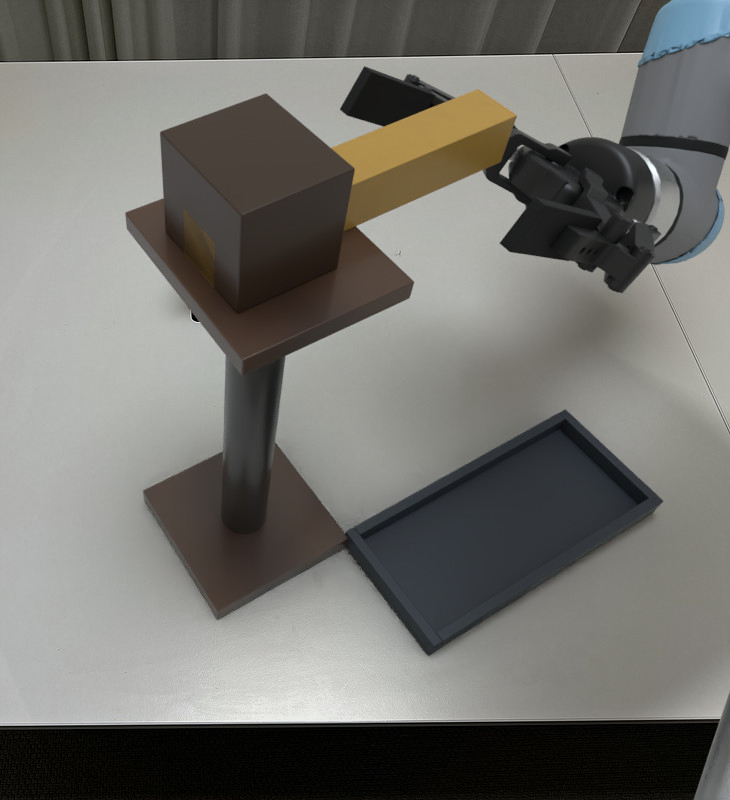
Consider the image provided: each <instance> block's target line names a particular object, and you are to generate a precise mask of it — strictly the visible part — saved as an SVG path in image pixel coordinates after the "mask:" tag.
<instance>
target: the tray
mask: <svg viewBox="0 0 730 800" xmlns="http://www.w3.org/2000/svg"><path fill="white" fill-rule="evenodd" d="M663 503H664V500H663V499H662V498H661V497H660V496H659V495H658V494H657V493H656V492H655V491H653V489H652V488H650V487H649V486H648V485H647V484H646V483H645V482H644V481H643V480H642V479H641V478H639V476H638V475H637V474H636V473H634V472H633V470H631V468H629V467H628V466H627V465H626V464H625V463H624V462H623V461H622V460H621V459H619V458H618V457H617V455H616V454H614V453H613V452H612V450H610V449H609V448H608V447H606V445H604V443H602V442H601V441H600V440H599V439H598V438H597V437H596V436H595V435H594V434H593V433H592V432H591V431H589V430H588V428H586V426H584V425H583V424H582V423H581V422H580V421H579V420H578V419H577V418H576V417H575V416H573V415H572V414H571V413H570V412H569V411H568V410H567V409H563V410H561V411H560V412H558V413H555V414H554V415H552V416H550V417H549V418H546V419H545V420H543V421H542V422H539V423H537V424H536V425H534V426H532V427H530V428H529V429H527V430H525V431H523V432H522V433H520V434H518V435H516V436H514V437H513V438H511V439H509V440H507V441H506V442H503V443H502V444H500V445H499V446H496V447H495V448H493V449H491V450H489V451H488V452H485V453H484V454H482V455H480V456H478V457H476V458H474V459H473V460H471V461H470V462H468V463H466V464H464V465H463V466H461V467H459V468H457V469H455V470H453V471H451V472H450V473H448V474H446V475H444V476H442V477H440V478H439V479H437V480H436V481H435V480H434V481H433V482H431V483H430V484H428V485H426V486H425V487H423V488H421V489H419V490H417V491H416V492H414V493H412V494H410V495H408V496H407V497H404V498H403V499H401V500H399V501H398V502H396V503H394V504H392V505H390V506H389V507H387V508H385V509H384V510H382V511H379V512H377V513H376V514H374V515H372V516H371V517H369V518H367V519H365V520H364V521H362V522H360V523H358V524H356V525H355V526H353V527H351V528H349V529H348V530H346V531H345V532H344V533H345V535H346V536H347V537H348V542H347V545H346V548H345V549H346V550H347V551H348V552H349V554H350V555H351V556H352V557H353V559H354V560H355V561H356V563H357V564H358V565H359V567H360V568H361V570H362V571H363V572H364V573H365V575H366V576H367V577H368V579H369V580H370V581H371V583H372V584H373V585H374V586H375V588H376V589H377V590H378V592H379V593H380V595H381V596H382V597H383V598H384V600H385V602H386V603H387V604H388V605H389V606H390V608H391V609H392V610H393V612H394V613H395V614H396V616H397V617H398V619H399V620H400V621H401V622H402V624H403V625H404V626H405V628H406V629H407V630H408V632H409V633H410V634H411V636H412V637H413V638H414V639H415V641H416V642H417V644H419V646H420V648H421V649H422V650H423V651H424V653H425V654H426V655H427V656H428V657H429V656H431V655H432V654H434V653H435V652H437V651H439V650H441V649H442V648H443V647H445V646H447V645H448V644H450V643H451V642H453V641H454V640H456V639H458V638H459V637H461V636H463V635H464V634H465V633H467V632H469V631H470V630H472V629H473V628H475V627H476V626H479V624H481V623H483V622H484V621H486V620H488V619H489V618H490V617H492V616H494V615H495V614H497V613H498V612H500V611H502V610H503V609H505V608H506V607H508V606H510V605H511V604H512V603H514V602H516V601H517V600H519V599H520V598H522V597H523V596H525V595H527V594H528V593H530V592H531V591H533V590H534V589H536V588H538V587H539V586H540V585H542V584H544V583H546V582H547V581H549V580H550V579H552V578H553V577H555V576H556V575H558V574H559V573H561V572H563V571H564V570H566V569H568V568H569V567H571V566H572V565H574V564H575V563H577V562H578V561H581V560H582V559H583V558H584V557H586V556H588V555H589V554H591V553H592V552H594V551H596V550H597V549H599V548H600V547H602V546H604V545H605V544H606V543H608V542H610V541H611V540H613V539H614V538H616V537H618V536H619V535H621V534H623V533H624V532H625V531H627V530H628V529H630V528H631V527H633V526H635V525H636V524H637V523H639V522H641V521H643V520H644V519H646V518H647V517H649V516H651V515H652V514H653V513H654V512H655V511H656V510H657V509H658V508H659V507H660V506H661V504H663Z"/></svg>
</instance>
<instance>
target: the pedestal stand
mask: <svg viewBox="0 0 730 800" xmlns="http://www.w3.org/2000/svg"><path fill="white" fill-rule="evenodd" d="M124 215H125V216H124V217H125V225H126V230H127V232H128V233H129V234H130V235H131V237H132V238H133V239H134V241H135V242H136V243H137V245H139V247H140V248H141V249H142V251H143V252H144V253H145V255H146V256H147V257H148V258H149V259H150V261H151V262H152V263H153V264H154V266H155V267H156V268H157V270H158V271H159V272H160V273H161V275H162V276H163V277H164V278H165V280H166V281H167V282H168V284H169V285H170V286H171V288H172V289H173V290H174V291H175V292H176V294H177V295H178V296H179V298H180V299H181V300H182V302H183V303H184V304H185V305H186V306H187V308H188V309H189V310H190V312H191V313H192V314H193V315H194V317H195V318H196V319H197V321H198V322H199V323H200V324H201V326H202V327H203V328H204V329H205V331H206V332H207V334H208V335H209V336H210V337H211V338H212V340H213V341H214V342H215V344H216V345H217V346H218V347H219V348H220V350H221V351H222V353H223V354H224V355H225V364H224V365H225V366H224V368H225V369H224V403H223V408H224V409H223V433H222V434H223V436H222V451H220V452H218V453H216V454H214V455H213V456H210V457H208V458H206V459H204V460H201V461H200V462H198V463H196V464H194V465H192V466H190V467H188V468H186V469H184V470H182V471H179V472H178V473H176V474H174V475H172V476H170V477H167V478H165V479H163V480H162V481H160V482H157V483H155V484H153V485H151V486H149V487H147V488H145V489H143V490H142V494H143V500H144V502H145V504H146V505H147V507H148V508H149V511H150V512H151V514H152V516H153V518H155V520H156V521H157V524H158V525H159V527H160V529H161V530H162V532H163V533H164V535H165V537H166V538H167V540H168V542H169V543H170V545H171V547H172V548H173V549H174V552H175V553H176V555H177V556H178V558H179V560H180V561H181V563H182V564H183V566H184V568H185V569H186V571H187V573H188V574H189V576H190V578H191V579H192V581H193V582H194V584H195V586H196V588H197V589H198V590H199V592H200V594H201V596H202V597H203V599H204V600H205V602H206V604H207V605H208V607H209V608H210V610H211V612H212V613H213V615H214V617H215V618H216V620H220V619H222V618H224V617H225V616H227V615H229V614H230V613H232V612H234V611H236V610H237V609H239V608H241V607H243V606H244V605H247V604H248V603H251V602H252V601H254V600H255V599H257V598H259V597H261V596H263V595H264V594H266V593H269V591H271V590H274V589H275V588H277V587H278V586H280V585H282V584H284V583H286V582H287V581H289V580H291V579H292V578H294V577H296V576H298V575H300V574H302V573H303V572H305V571H307V570H308V569H310V568H312V567H314V566H316V565H317V564H319V563H321V562H322V561H324V560H327V559H328V558H330V557H331V556H333V555H335V554H337V553H339V552H340V551H343V550H344V549H347V548H346V545H347V542H348V537H347V536H346V535H345V533H346V532H345V531H344V530H343V528H342V527H341V526H340V524H339V523H338V522H337V521H336V519H335V518H334V517H333V515H332V514H331V513H330V512H329V510H328V509H327V508H326V506H325V505H324V503H322V501H321V499H320V498H319V497H318V496H317V494H316V493H315V492H314V491H313V489H312V488H311V487H310V486H309V484H308V482H306V480H305V479H304V478H303V476H302V475H301V474H300V472H299V471H298V470H297V469H296V467H295V466H294V465H293V463H292V462H291V461H290V459H289V458H288V457H287V456H286V454H285V453H284V452H283V451H282V449H281V447H279V445H278V443H277V442H276V439H277V431H278V421H279V414H280V406H281V405H280V404H281V399H282V398H281V397H282V391H283V390H282V389H283V383H284V382H283V381H284V373H285V365H286V356H289V355H291V354H293V353H295V352H297V351H299V350H302V349H304V348H306V347H308V346H311V345H313V344H314V343H317V342H320V341H321V340H323V339H325V338H327V337H329V336H332V335H334V334H336V333H338V332H340V331H342V330H345V329H347V328H349V327H351V326H353V325H355V324H357V323H360V322H362V321H364V320H366V319H368V318H371V317H373V316H375V315H376V314H379V313H381V312H383V311H385V310H387V309H390V308H392V307H394V306H397V305H398V304H401V303H402V302H405V301H407V300H409V299H410V298H411V295H412V291H413V289H414V285H415V281H414V279H412V278H411V276H409V275H408V274H407V273H406V272H405V271H404V270H403V269H402V268H400V267H399V265H397V263H395V262H394V261H393V260H392V259H391V258H390V257H389V256H388V255H387V254H386V253H385V252H384V251H383V250H382V249H380V247H378V245H376V244H375V243H374V242H373V241H372V240H371V239H370V238H369V237H368V236H367V235H366V234H365V233H364V232H363V231H361V229H359V228H358V226H355V227H353V228H351V229H348V230H346V231H344V233H343V239H342V244H341V250H340V256H339V261H338V267H337V268H336V269H334V270H331V271H329V272H327V273H325V274H323V275H320V276H318V277H316V278H314V279H312V280H310V281H307V282H305V283H303V284H301V285H299V286H296V287H294V288H292V289H290V290H288V291H286V292H283V293H281V294H279V295H277V296H275V297H273V298H270V299H268V300H266V301H264V302H262V303H259V304H257V305H255V306H253V307H251V308H249V309H246V310H244V311H242V312H240V313H237V312H236V311H235V310H234V309H233V308H232V307H231V305H230V304H229V303H228V302H227V301H226V300H225V299H224V297H223V296H222V295H221V294H220V293H219V292H218V291H217V289H216V288H214V286H213V285H212V284H211V283H210V282H209V281H208V280H207V278H206V277H205V276H204V275H203V274H202V273H201V271H200V270H199V269H198V268H197V267H196V266H195V265H194V263H193V262H192V261H191V260H190V259H189V258H188V257H187V255H186V254H185V253H184V252H183V250H182V249H181V248H180V247H179V246H178V245H177V244H176V242H175V241H174V240H173V239H172V238H171V237H170V236H169V234H168V233H167V232H166V231H165V215H164V197H162V198H160V199H158V200H154V201H152V202H150V203H146V204H144V205H141V206H139V207H136V208H134V209H131V210H128V211H125V212H124Z"/></svg>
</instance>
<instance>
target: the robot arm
mask: <svg viewBox="0 0 730 800" xmlns="http://www.w3.org/2000/svg"><path fill="white" fill-rule="evenodd" d="M353 83H354V84H353V85H352V87H351V88H350V90H349V92H348V94H347V96H346V97H345V99H344V101H343V102H342V104H341V106H340V108H339V111H341V112H342V113H343V114H344V115H346V116H347V117H349V118H353V119H357V120H360V121H364V122H366V123H370V124H373V125H377V126H379V127H384V126H387V125H389V124H392V123H394V122H397V121H399V120H402V119H404V118H407V117H409V116H412V115H414V114H417V113H419V112H422V111H424V110H427V109H429V108H432V107H434V106H437V105H439V104H442V103H444V102H447V101H449V100H452V99H454V98H456V97H455V96H453V95H451V94H449V93H447V92H445V91H443V90H441V89H439V88H437V87H435V86H433V85H431V84H430V83H427V82H425V81H424V80H422V79H420V77H419V76H417V75H415V74H411V73H409V74H408V73H407V74H406V76H405V77H404V79H403V80H402V79H401V78H397V77H394V76H392V75H389V74H387V73H383V72H381V71H379V70H376V69H374V68H371V67H368V66H365V65H363V67H362V69H361V71H360V73H359V74H358V76H357V78H356V80H355V82H353ZM628 103H629V104H628V106H627V107H628V108H627V111H626V116H625V120H624V123H623V127H622V131H621V135H620V139H619V142H618V143H617V142H616V141H613V140H610V139H607V138H603V137H597V136H586V137H579V138H576V139H571V140H569V141H566V142H564V143H562V144H560V145H559V146H557V145H556V144H553V143H551V142H549V143H548V142H547V143H543V142H542V141H540V140H538V139H536V138H534V137H533V136H531V135H529V134H527V133H525V132H524V131H522V130H520V129H519V128H518V127H516V126H517V125H515V124H514V126H513V129H512V132H511V134H510V137H509V140H508V143H507V146H506V149H505V151H504V154H503V157H502V160H501V162H500V163H497V164H495V165H493V166H491V167H488V168H486V169H484V170H482V173H483V175H484V176H485V178H486V180H488V181H489V182H491V183H492V184H494V185H496V186H498V187H499V188H502V189H504V190H505V191H507V192H509V193H511V194H512V195H513V197H514V198H515V199H516V200H517V202H519V203H520V204H523V205H524V206H525V208H524V210H523V212H522V213H521V214H520V215H519V216H518V218H517V220H516V221H515V222H514V223H513V225H512V226H511V227H510V228H509V230H508V231H507V233H506V234H505V235H504V237H503V238H502V239H501V241H500V242H499V244H500V245H501V246H502V247H503V248H504V249H506V250H507V251H508V252H509V253H514V254H520V255H527V256H533V257H538V258H539V257H540V258H546V259H553V260H560V261H566V262H574V263H576V264H577V267H578V268H579V269H581V270H582V271H584V272H585V271H587V272H589V273H594V272H595V270H597V268H598V269H599V270H602V271H603V272H604V275H603V282H604V284H606V285H607V288H608V289H609V290H611V291H612V292H615V293H618V294H624V292H625V291H626V290H628V288H629V287H630V286H631V284H633V282H634V281H636V279H637V278H638V277H639V276H640V274H641V273H643V271H644V270H645V269H646V268H647V267H648V266H649V265H653V266H660V265H672V264H673V265H674V264H678V263H682V262H687V261H689V260H691V259H693V258H696V256H697V257H698V255H700V254H702V253H703V252H704V251H706V250H707V249H708V248H709V247H710V246H711V245H712V244H713V243H714V242H715V240H716V239H717V238H718V236H719V234H720V233H721V231H722V229H723V224H724V221H725V213H726V209H725V204H724V201H723V197H722V194H721V193H720V191H719V189H718V185H719V181H720V178H721V175H722V172H723V169H724V165H725V161H726V159H727V156H728V154H729V149H730V0H670V1H668V2H667V3H665V4H664V5H663V6H662V7H660V9H659V10H658V12H657V13H656V16H655V18H654V21H653V23H652V26H651V29H650V31H649V33H648V37H647V40H646V43H645V45H644V48H643V52H642V55H641V58H640V59H639V60H638V63H637V72H636V76H635V80H634V83H633V88H632V91H631V96H630V100H629V102H628ZM508 162H509V163H508ZM507 163H508V165H507V166H508V167H507V168H508V169H507V170H508V171H507V172H508V177H507V176H505V175H503V174H502V173H501V172H502V170H503V168H504V167H505V166H506V164H507ZM693 800H730V691H728V694H727V698H726V700H725V703H724V706H723V710H722V713H721V716H720V718H719V722H718V724H717V728H716V731H715V734H714V738H713V740H712V742H711V746H710V749H709V751H708V754H707V757H706V761H705V764H704V766H703V769H702V773H701V776H700V779H699V782H698V785H697V788H696V791H695V794H694V797H693Z"/></svg>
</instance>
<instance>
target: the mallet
mask: <svg viewBox="0 0 730 800" xmlns="http://www.w3.org/2000/svg"><path fill="white" fill-rule="evenodd" d="M517 117H518V115H517V114H516V113H514V112H513V111H512V110H511V109H509V108H508V107H506V106H504V105H503V104H502V103H500V102H498V101H497V100H495V98H492V96H490V95H488V94H487V93H486V92H484V91H482V90H481V89H479V88H478V89H474V90H472V91H469V92H467V93H464V94H462V95H459V96H456V97H455V98H454V99H452V100H449V101H447V102H444V103H442V104H439V105H437V106H434V107H432V108H429V109H427V110H424V111H422V112H419V113H417V114H414V115H412V116H409V117H407V118H404V119H402V120H399V121H397V122H394V123H392V124H389V125H387V126H384V127H383V126H381V127H379V128H377V129H374V130H372V131H370V132H367V133H364V134H362V135H359V136H357V137H354V138H352V139H349V140H347V141H344V142H342V143H340V144H337V145H334V146H332V147H331V146H329V145H328V144H327V143H326V142H325V141H323V140H322V139H321V138H320V137H319V136H317V135H316V133H314V132H313V131H312V130H311V129H309V128H308V127H307V126H306V125H304V124H303V123H302V122H301V121H300V120H299V119H298V118H296V116H294V115H292V113H291V112H289V110H287V109H286V108H285V107H284V106H282V105H281V104H280V103H279V102H277V101H276V100H275V99H274V98H273V97H271V95H269V94H268V93H263V94H260V95H257V96H254V97H252V98H249V99H246V100H243V101H241V102H238V103H235V104H232V105H229V106H227V107H224V108H221V109H219V110H216V111H213V112H210V113H208V114H205V115H202V116H199V117H197V118H194V119H191V120H187V121H186V122H183V123H180V124H177V125H175V126H172V127H169V128H166V129H163V130H161V131H160V132H159V137H160V138H159V141H160V157H161V158H160V159H161V175H162V176H161V177H162V178H161V179H162V194H163V195H162V196H163V197H162V198H164V215H165V231H166V232H167V233H168V234H169V236H170V237H171V238H172V239H173V240H174V241H175V242H176V244H177V245H178V246H179V247H180V248H181V249H182V250H183V252H184V253H185V254H186V255H187V257H188V258H189V259H190V260H191V261H192V262H193V263H194V265H195V266H196V267H197V268H198V269H199V270H200V271H201V273H202V274H203V275H204V276H205V277H206V278H207V280H208V281H209V282H210V283H211V284H212V285H213V286H214V288H216V289H217V291H218V292H219V293H220V294H221V295H222V296H223V297H224V299H225V300H226V301H227V302H228V303H229V304H230V305H231V307H232V308H233V309H234V310H235V311H236V312H237V313H240V312H242V311H244V310H246V309H249V308H251V307H253V306H255V305H257V304H259V303H262V302H264V301H266V300H268V299H270V298H273V297H275V296H277V295H279V294H281V293H283V292H286V291H288V290H290V289H292V288H294V287H296V286H299V285H301V284H303V283H305V282H307V281H310V280H312V279H314V278H316V277H318V276H320V275H323V274H325V273H327V272H329V271H331V270H334V269H336V268H337V267H338V261H339V256H340V250H341V244H342V239H343V233H344V231H346V230H348V229H351V228H353V227H355V226H356V227H358V226H359V225H362V224H364V223H367V222H368V221H372V220H374V219H375V218H378V217H380V216H382V215H385V214H387V213H389V212H392V211H394V210H396V209H398V208H400V207H403V206H405V205H408V204H409V203H411V202H414V201H416V200H419V199H421V198H423V197H425V196H428V195H430V194H432V193H435V192H436V191H439V190H441V189H443V188H445V187H448V186H450V185H452V184H454V183H456V182H460V181H461V180H463V179H466V178H468V177H470V176H472V175H475V174H477V173H479V172H483V170H484V169H486V168H488V167H491V166H493V165H495V164H497V163H500V162H501V160H502V157H503V154H504V151H505V149H506V146H507V143H508V140H509V137H510V134H511V132H512V129H513V126H514V125H515V123H516V120H517Z"/></svg>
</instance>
